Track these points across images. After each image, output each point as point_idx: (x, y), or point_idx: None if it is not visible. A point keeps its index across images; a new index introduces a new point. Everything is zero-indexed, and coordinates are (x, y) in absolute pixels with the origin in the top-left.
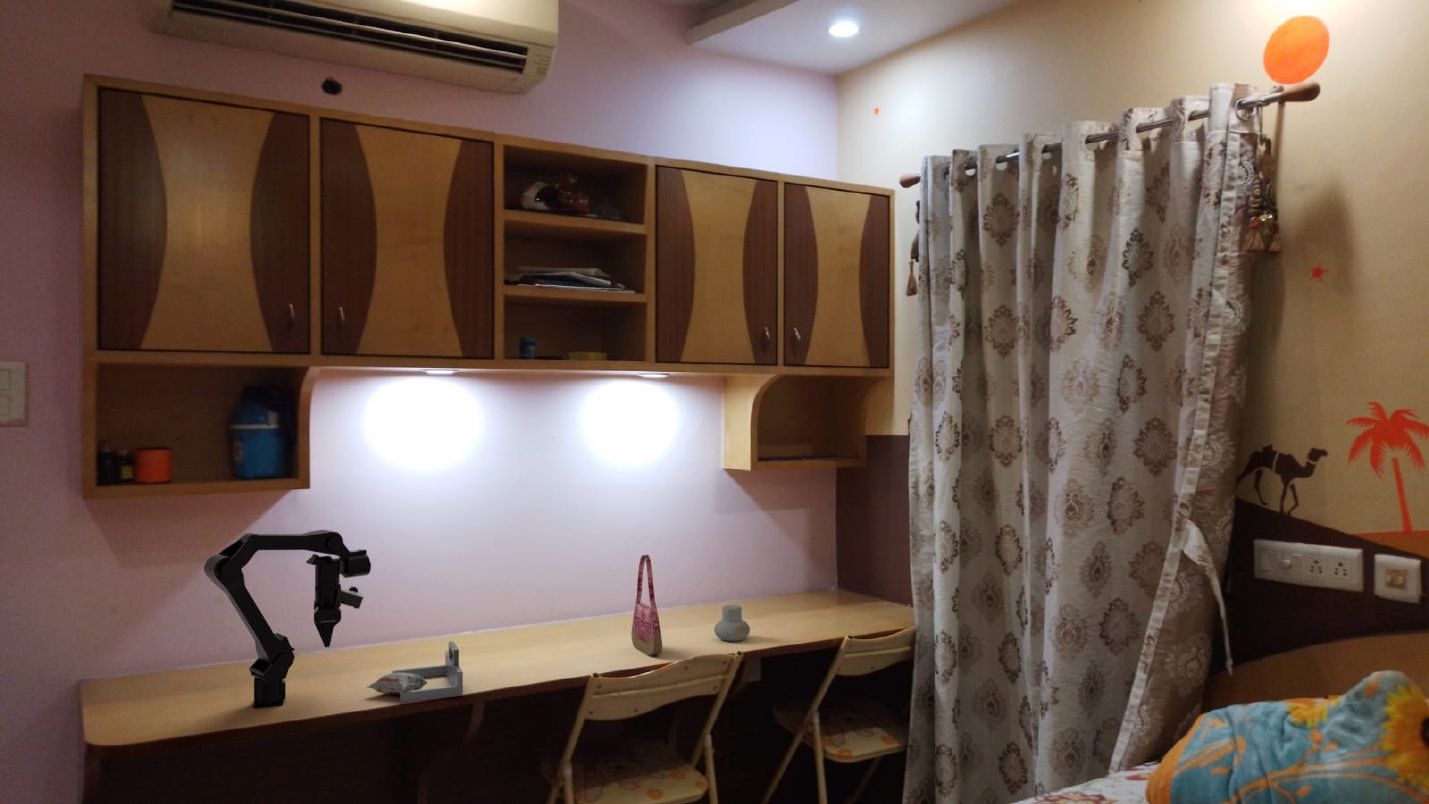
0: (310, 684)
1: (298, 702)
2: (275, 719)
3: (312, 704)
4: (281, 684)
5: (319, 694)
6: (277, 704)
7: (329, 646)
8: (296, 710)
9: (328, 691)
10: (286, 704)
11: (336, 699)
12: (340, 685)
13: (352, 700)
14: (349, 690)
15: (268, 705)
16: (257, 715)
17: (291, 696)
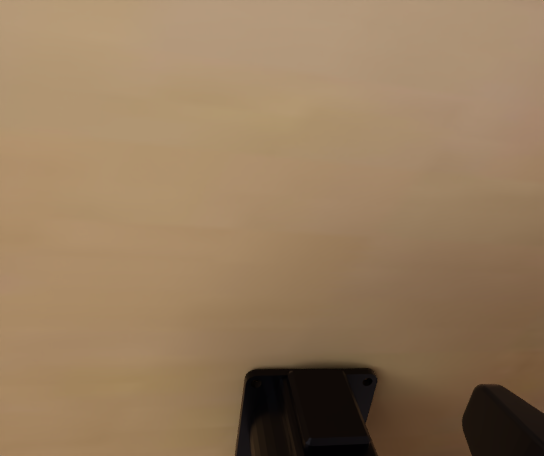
0: (3, 242)
1: (356, 308)
2: (536, 383)
3: (433, 252)
4: (375, 451)
5: (266, 209)
6: (373, 390)
7: (502, 387)
8: (477, 317)
9: (227, 156)
10: (356, 352)
11: (427, 131)
12: (109, 63)
13: (511, 43)
14: (275, 22)
15: (366, 419)
16: (438, 436)
17: (228, 334)
